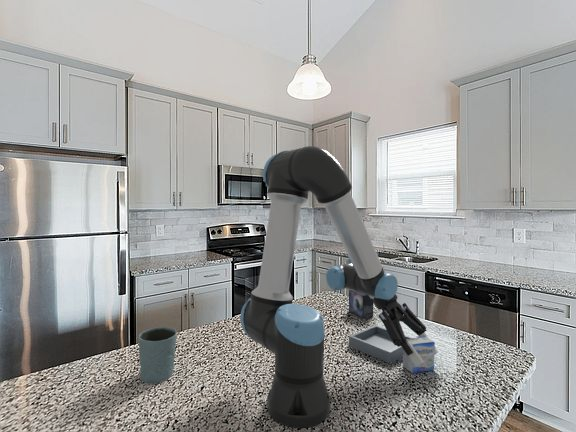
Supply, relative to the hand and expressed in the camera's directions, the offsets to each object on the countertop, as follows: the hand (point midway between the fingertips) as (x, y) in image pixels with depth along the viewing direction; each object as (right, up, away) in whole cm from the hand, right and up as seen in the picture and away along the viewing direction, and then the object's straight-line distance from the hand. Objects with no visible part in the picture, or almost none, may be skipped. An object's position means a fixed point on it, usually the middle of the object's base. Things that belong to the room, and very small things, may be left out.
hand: (427, 359), depth 93 cm
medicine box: (-2, -4, +2) cm, 5 cm away
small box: (-9, -2, +49) cm, 50 cm away
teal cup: (-78, -3, -3) cm, 78 cm away
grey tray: (-9, -3, +16) cm, 19 cm away
